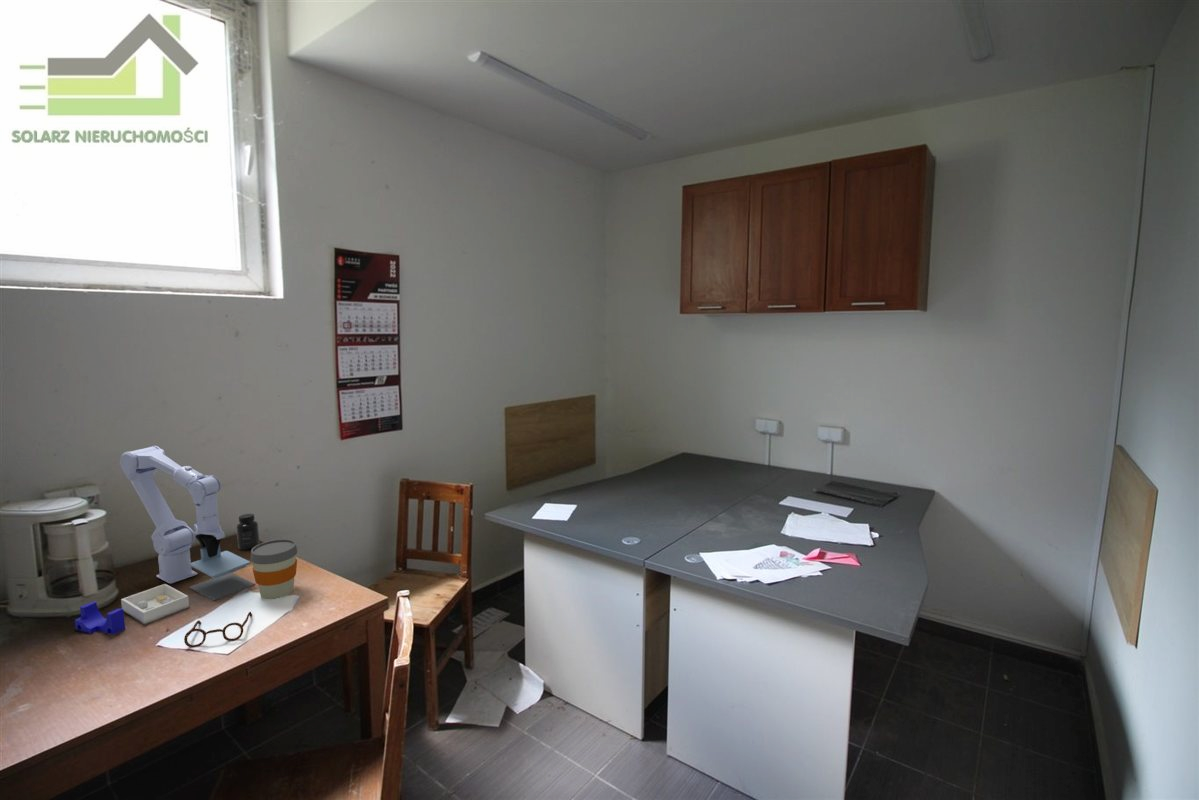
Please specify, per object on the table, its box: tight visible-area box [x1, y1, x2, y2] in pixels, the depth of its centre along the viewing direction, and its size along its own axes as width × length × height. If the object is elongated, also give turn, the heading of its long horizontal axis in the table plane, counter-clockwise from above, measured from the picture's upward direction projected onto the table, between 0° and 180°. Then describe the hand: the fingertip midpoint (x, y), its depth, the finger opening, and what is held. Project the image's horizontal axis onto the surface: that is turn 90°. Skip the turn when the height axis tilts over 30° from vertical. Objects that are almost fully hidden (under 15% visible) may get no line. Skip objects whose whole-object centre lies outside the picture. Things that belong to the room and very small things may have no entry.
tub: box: [120, 583, 190, 625], centre depth 162 cm, size 14×11×4 cm
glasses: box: [183, 611, 253, 648], centre depth 151 cm, size 13×13×5 cm
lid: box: [189, 544, 252, 579], centre depth 174 cm, size 14×11×6 cm
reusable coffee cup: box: [250, 538, 298, 600], centre depth 172 cm, size 13×13×15 cm
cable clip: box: [74, 601, 126, 636], centre depth 151 cm, size 12×4×6 cm, turn 73°
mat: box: [188, 572, 256, 602], centre depth 176 cm, size 15×12×1 cm
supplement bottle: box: [235, 513, 261, 551], centre depth 205 cm, size 7×7×12 cm
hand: (211, 555), depth 177 cm, fingers closed on lid
